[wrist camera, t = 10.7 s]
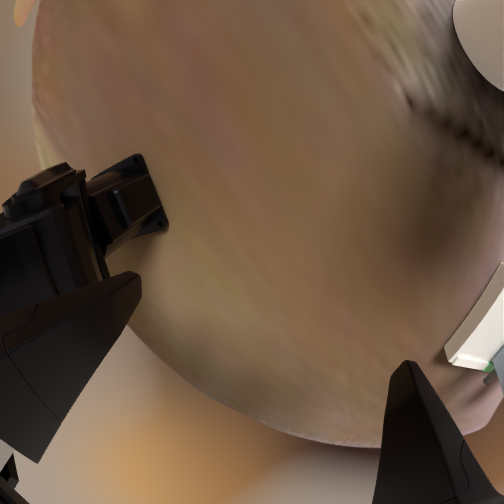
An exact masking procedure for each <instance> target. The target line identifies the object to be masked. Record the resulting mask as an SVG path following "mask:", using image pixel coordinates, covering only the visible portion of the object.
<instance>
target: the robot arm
mask: <svg viewBox="0 0 504 504" xmlns="http://www.w3.org/2000/svg"><path fill="white" fill-rule="evenodd" d="M136 158H137V159H138V162H137V161H136ZM85 178H86V173H85V169H83V170H77V171H76V169H74V170H73V168H71V167H70V166H69V165H68V164H67V162H64V163H60V164H58V165H55V166H52V167H50V168H47V169H45V170H43V171H41V172H39V173H37V174H35V175H33V176H31V177H30V178H28V179H26V180H25V181H23V182H22V183H21V184H20V186H19V189H18V191H17V192H16V193H14V194H13V195H12V196H11V197H10V198H9V199H8V200H7V201H6V202H4V203H3V204H2V208H3V212H2V213H0V504H29V503H28V502H27V501H26V500H25V499H24V498H23V497H22V496H21V495H19V493H17V492H16V491H15V490H14V488H15V487H16V485H17V483H18V482H19V479H18V475H17V470H16V465H15V460H14V455H13V452H14V450H16V451H18V452H19V453H21V454H22V455H24V456H26V457H27V458H29V459H30V460H32V461H33V462H35V463H37V464H38V463H39V461H40V460H41V458H42V456H43V454H44V452H45V450H46V449H47V447H48V445H49V444H50V442H51V440H52V439H53V437H54V435H55V434H56V432H57V430H58V429H59V427H60V425H61V422H63V420H64V418H65V417H66V415H67V414H68V412H69V410H70V409H71V407H72V406H73V404H74V403H75V401H76V399H77V398H78V396H79V395H80V393H81V392H82V390H83V388H84V387H85V386H86V384H87V383H88V381H89V379H90V378H91V377H92V375H93V374H94V372H95V370H96V369H97V368H98V366H99V365H100V363H101V362H102V360H103V359H104V357H105V356H106V355H107V353H108V352H109V350H110V349H111V347H112V346H113V345H114V343H115V342H116V340H117V339H118V337H119V336H120V335H121V333H122V331H123V330H124V328H125V326H126V324H127V322H128V321H129V319H130V317H131V315H132V314H133V312H134V310H135V308H136V307H137V305H138V303H139V302H140V300H141V297H142V286H141V277H140V275H139V274H136V273H134V272H132V271H127V272H124V273H122V274H119V275H116V276H113V277H110V274H109V271H108V268H107V265H106V262H105V258H106V257H108V256H109V255H110V254H111V253H113V252H114V251H115V250H116V249H118V248H119V247H120V246H121V245H123V244H124V243H125V242H127V241H128V240H129V239H131V238H134V237H138V236H141V235H145V234H149V233H152V232H156V231H159V230H163V229H165V228H166V227H167V226H168V220H167V217H166V215H165V212H164V210H163V207H162V205H161V202H160V200H159V197H158V195H157V192H156V190H155V187H154V185H153V182H152V179H151V177H150V174H149V172H148V169H147V167H146V164H145V161H144V158H143V156H142V155H141V154H139V153H138V154H134V155H132V156H130V157H128V158H126V159H124V160H123V161H121V162H119V163H117V164H115V165H113V166H112V167H110V168H108V169H106V170H105V171H103V172H101V173H99V174H98V175H96V176H94V177H93V178H92V179H91V180H90V181H88V182H86V181H85ZM161 221H162V222H163V224H161ZM372 504H504V496H503V495H501V494H500V493H498V492H497V491H496V490H495V489H494V487H493V486H492V484H491V483H490V481H489V479H488V478H487V476H486V474H485V473H484V471H483V470H482V468H481V467H480V465H479V464H478V462H477V460H476V459H475V457H474V455H473V453H472V452H471V450H470V448H469V447H468V445H467V443H466V441H465V440H464V439H463V436H462V434H461V432H460V431H459V429H458V427H457V425H456V424H455V422H454V420H453V419H452V417H451V415H450V414H449V412H448V410H447V409H446V407H445V406H444V404H443V402H442V401H441V399H440V398H439V396H438V394H437V393H436V391H435V390H434V388H433V387H432V385H431V384H430V382H429V381H428V379H427V378H426V376H425V374H424V373H423V372H422V370H421V369H420V367H419V366H418V364H417V363H416V362H414V361H410V360H405V361H403V362H402V363H401V365H400V366H399V367H398V368H397V369H396V370H395V371H394V373H393V374H392V375H391V378H390V382H389V390H388V397H387V403H386V409H385V415H384V423H383V434H382V444H381V452H380V460H379V467H378V474H377V480H376V486H375V491H374V496H373V501H372Z"/></svg>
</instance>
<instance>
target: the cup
mask: <svg viewBox="0 0 504 504" xmlns="http://www.w3.org/2000/svg"><path fill="white" fill-rule="evenodd" d="M453 22H454V27H455V30H456V33H457V36H458V39H459V41H460V43H461V45H462V47H463V49H464V51H465V53H466V54H467V56H468V58H469V59H470V60H471V62H472V63H473V65H474V66H475V67H476V69H477V70H478V71H479V72H480V73H481V74H482V75H483V76H484V77H485V78H486V79H487V80H488V81H489V82H490V83H491V84H492V85H494V86H495V87H497V88H498V89H500V90H502V91H504V0H456V2H455V4H454V8H453Z"/></svg>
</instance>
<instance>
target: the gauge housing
mask: <svg viewBox="0 0 504 504" xmlns="http://www.w3.org/2000/svg"><path fill="white" fill-rule="evenodd" d="M503 347H504V262H502V261H501V263H500V265H499V267H498V268H497V270H496V272H495V274H494V275H493V277H492V279H491V281H490V282H489V284H488V286H487V287H486V289H485V290H484V292H483V294H482V295H481V297H480V298H479V300H478V301H477V303H476V304H475V306H474V307H473V309H472V310H471V312H470V313H469V314H468V316H467V317H466V319H465V320H464V321H463V323H462V324H461V325H460V327H459V328H458V329H457V331H456V332H455V333H454V335H453V336H452V337H451V338H450V340H449V341H448V342H447V343H446V345H445V346H444V349H445V352H446V356H447V359H448V362H452V365H456V366H461V367H467V368H472V369H478V370H483V371H484V372H491V371H492V370H493V369H494V368H495V367H494V364H493V362H492V360H493V359H494V358H495V357H496V355H497V354H498V353H499V352H500V351H501V350H502V348H503Z"/></svg>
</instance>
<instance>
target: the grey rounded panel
mask: <svg viewBox="0 0 504 504" xmlns="http://www.w3.org/2000/svg"><path fill="white" fill-rule="evenodd" d="M492 362H493V364H494V367H495V368H494V369H493V370H492V371H491V373H490V374H489V375H488V376H487V377H486V378H485V379H484V380H483V381H484V384H485V385H488V384H489V383H490V382H491V381H492V380H493V379H494V378H495V377H496V376H498V379H499V382H500V385H501V388H502V391H503V394H504V347H503V348H502V350H501V351H500V352H499V353H498V354H497V355H496V357H495V358H494V359H493V360H492Z"/></svg>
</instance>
